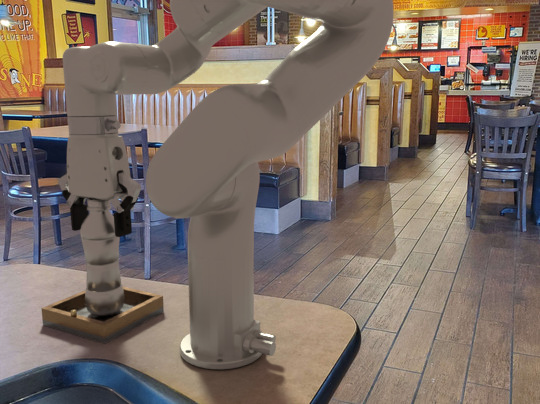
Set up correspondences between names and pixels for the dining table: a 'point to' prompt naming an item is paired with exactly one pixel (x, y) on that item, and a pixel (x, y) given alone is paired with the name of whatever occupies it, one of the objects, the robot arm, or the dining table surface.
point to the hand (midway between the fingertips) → (101, 232)
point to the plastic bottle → (101, 260)
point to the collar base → (102, 327)
